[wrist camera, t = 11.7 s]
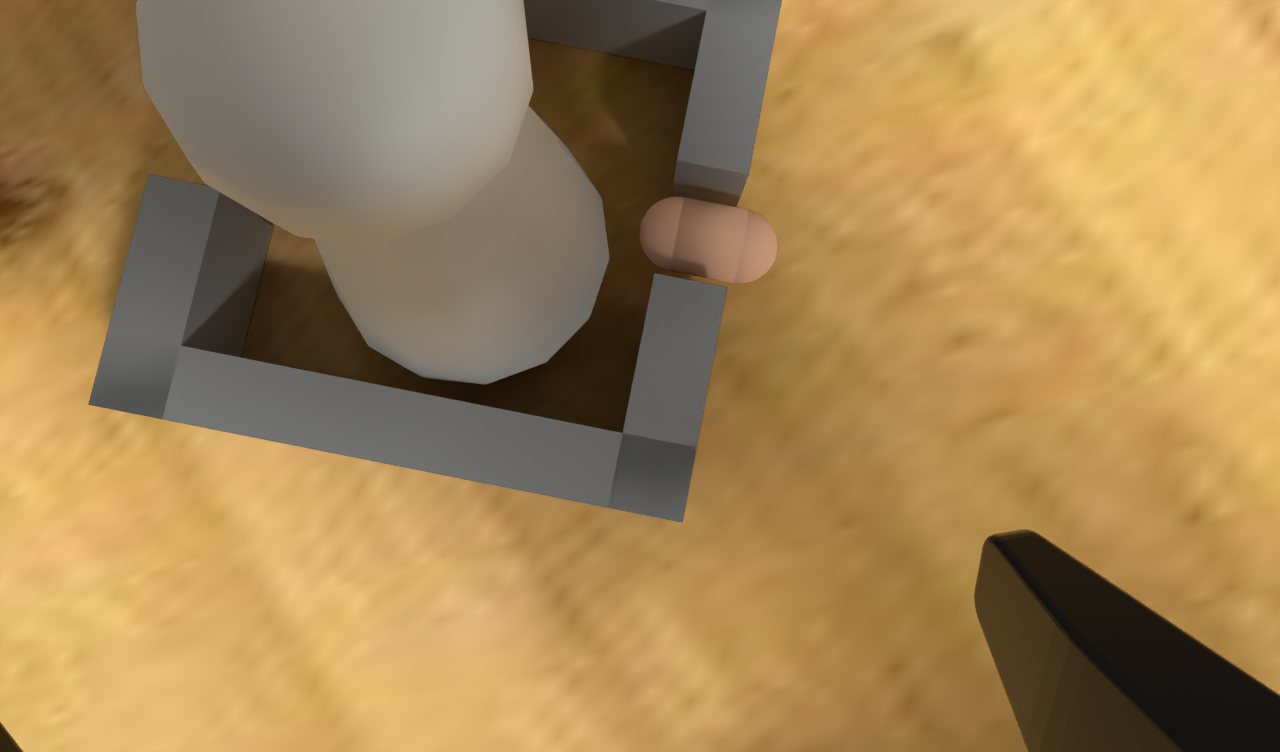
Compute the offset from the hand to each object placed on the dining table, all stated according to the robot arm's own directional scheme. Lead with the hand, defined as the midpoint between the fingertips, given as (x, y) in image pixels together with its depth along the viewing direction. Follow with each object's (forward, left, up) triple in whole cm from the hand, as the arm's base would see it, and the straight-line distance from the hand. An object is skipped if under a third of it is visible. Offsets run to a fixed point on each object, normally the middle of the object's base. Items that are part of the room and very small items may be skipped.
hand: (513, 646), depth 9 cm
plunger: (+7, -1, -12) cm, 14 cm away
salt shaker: (+6, +3, -14) cm, 15 cm away
